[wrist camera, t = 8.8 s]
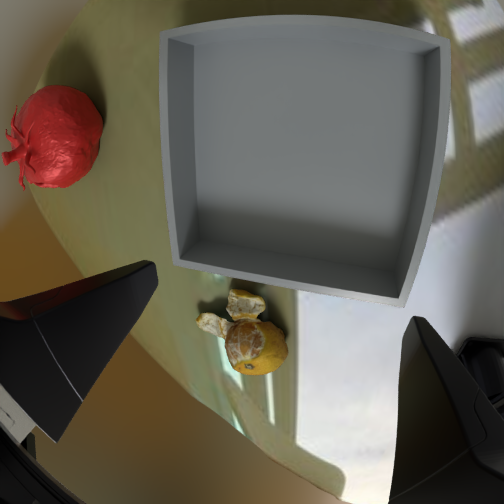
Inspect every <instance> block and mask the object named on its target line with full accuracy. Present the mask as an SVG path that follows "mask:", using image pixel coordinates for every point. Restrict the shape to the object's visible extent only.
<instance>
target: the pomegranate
mask: <svg viewBox="0 0 504 504" xmlns="http://www.w3.org/2000/svg"><path fill="white" fill-rule="evenodd" d="M16 111H17V108H16ZM16 111H15V113H14V115H13V118H12V121H11V126H12V130H11V136H10V135H8V134H7V129H6V137H7V139H8V140H9V141H10V142H11V146H12V151H10V152H3V153H2V158H3V162H4V165H8V164H9V163H10V162H14V161H17V162H18V163H19V165H20V176H19V183H20V185H21V186H22V187H23V188H24V190H25V185H24V184H23V175H25V177H26V179H27V181H28V182H29V183H30V184H32V183H34V184H35V185H37V186H39V187H45V188H46V187H52V188H57V187H60V188H66V187H69V186H70V185H72V184H73V183H75V182H76V181H78V180H79V179H81V178H82V177H83V176H85V175H86V174H87V173H88V172H89V171H90V170H91V168H92V165H93V163H94V161H95V159H96V157H97V155H98V150H99V139H100V137H101V135H102V132H103V121H102V117H101V115H100V114H99V112H98V111H97V109H96V107H95V106H94V104H93V102H92V101H91V100H90V98H89V97H88V96H87V95H86V94H85V93H83V92H81V91H79V90H77V89H75V88H72V87H68V86H62V85H50V86H46V87H43V88H42V89H40V90H38V91H37V92H36V93H34V94H33V95H31V96H30V97H29V99H27V100H26V101H25V103H24V105H23V106H22V108H21V110H20V112H19V114H18V115H17V116H16ZM15 116H16V118H15Z"/></svg>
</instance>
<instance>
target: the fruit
mask: <svg viewBox="0 0 504 504" xmlns="http://www.w3.org/2000/svg"><path fill="white" fill-rule="evenodd" d="M228 300H229V303H228V305H227V307H226V310H227V311H228V312H229V314H230V316H232V318H233V320H234V321H235V322H228V321H227V320H226V319H222V318H220V317H219V316H216V315H215V314H214V313H209V312H207V313H202V314H200V315H199V316H198V318H197V319H196V323H197V324H198V327H200V328H201V329H202V330H204V331H206V332H210V333H212V334H214V335H216V336H218V337H222V338H223V339H225V348H226V352H227V356H228V359H229V362H230V364H231V366H232V367H233V369H234V370H236V371H238V372H240V373H242V374H247V375H264V374H267V373H270V372H273V371H275V370H276V369H278V368H279V367H280V366H281V365H282V363H283V362H284V360H285V359H286V357H287V355H288V348H287V344H286V343H285V340H284V338H285V335H284V333H283V332H282V329H278V328H277V327H276V326H275V325H274V324H272V323H271V322H261V321H260V320H259V319H258V318H257V316H258V314H259V313H261V312H263V311H264V310H265V300H264V299H263V298H262V297H261V296H259V295H253V294H250V293H249V292H247V291H245V290H237V289H231V290H230V294H229V296H228Z"/></svg>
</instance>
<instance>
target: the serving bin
mask: <svg viewBox="0 0 504 504" xmlns="http://www.w3.org/2000/svg"><path fill="white" fill-rule="evenodd" d="M450 93H451V49H450V39H447V38H444V37H441V36H437V35H434V34H431V33H427V32H423V31H419V30H415V29H411V28H407V27H403V26H398V25H393V24H388V23H382V22H376V21H370V20H363V19H355V18H346V17H335V16H319V15H267V16H252V17H240V18H231V19H223V20H216V21H209V22H203V23H198V24H192V25H187V26H182V27H178V28H173V29H169V30H165V31H161V32H160V49H159V103H160V131H161V150H162V165H163V178H164V189H165V200H166V210H167V219H168V227H169V236H170V244H171V251H172V258H173V265H176V266H180V267H185V268H190V269H194V270H199V271H204V272H209V273H214V274H219V275H224V276H229V277H233V278H239V279H244V280H249V281H254V282H259V283H264V284H269V285H275V286H280V287H285V288H291V289H296V290H302V291H307V292H313V293H318V294H324V295H330V296H336V297H341V298H347V299H353V300H359V301H365V302H372V303H378V304H384V305H390V306H397V307H403V308H404V307H405V305H406V302H407V299H408V297H409V294H410V291H411V288H412V286H413V283H414V280H415V277H416V274H417V271H418V268H419V265H420V261H421V258H422V255H423V252H424V248H425V245H426V241H427V238H428V234H429V230H430V226H431V222H432V218H433V214H434V210H435V205H436V201H437V196H438V191H439V186H440V181H441V175H442V170H443V163H444V157H445V150H446V142H447V133H448V123H449V111H450Z"/></svg>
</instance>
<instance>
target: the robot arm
mask: <svg viewBox="0 0 504 504" xmlns="http://www.w3.org/2000/svg"><path fill="white" fill-rule="evenodd" d="M157 286H158V276H157V270H156V265H155V263H154V262H152V261H148V260H142V261H139V262H136V263H133V264H129V265H126V266H123V267H120V268H117V269H113V270H110V271H107V272H104V273H101V274H97V275H94V276H91V277H88V278H85V279H82V280H79V281H76V282H73V283H70V284H66V285H64V286H60V287H57V288H54V289H51V290H48V291H45V292H41V293H38V294H34V295H30V296H27V297H23V298H19V299H15V300H12V301H7V302H0V504H86V503H85V502H84V501H82V500H81V499H80V498H79V497H77V496H76V495H75V494H73V493H72V492H71V491H70V490H68V489H67V488H66V487H65V486H64V485H62V484H61V483H60V482H59V481H58V480H56V479H55V478H54V477H53V476H52V475H51V474H50V473H49V472H48V471H47V470H46V469H45V468H43V467H42V466H41V465H40V464H39V463H38V462H37V461H36V451H35V436H34V434H32V433H31V430H32V429H33V428H34V427H35V425H37V426H38V427H39V428H40V429H41V430H42V431H43V432H44V433H45V434H46V435H47V436H49V437H50V438H51V439H52V440H53V441H54V442H55V443H57V442H58V441H59V440H60V438H61V436H62V435H63V433H64V431H65V430H66V428H67V426H68V425H69V423H70V422H71V420H72V418H73V417H74V415H75V413H76V412H77V410H78V409H79V407H80V405H81V404H82V402H83V400H84V399H85V397H86V396H87V394H88V392H89V391H90V389H91V388H92V386H93V385H94V383H95V382H96V380H97V379H98V377H99V376H100V374H101V373H102V371H103V370H104V368H105V367H106V365H107V363H108V362H109V361H110V359H111V358H112V356H113V355H114V353H115V352H116V350H117V349H118V347H119V346H120V345H121V343H122V342H123V340H124V339H125V337H126V336H127V335H128V333H129V332H130V330H131V329H132V327H133V326H134V325H135V323H136V322H137V320H138V319H139V317H140V316H141V314H142V312H143V311H144V309H145V307H146V305H147V304H148V302H149V300H150V298H151V297H152V295H153V293H154V291H155V290H156V288H157ZM388 504H504V340H499V339H487V338H476V337H469V338H467V339H466V340H465V342H464V344H463V345H462V347H461V349H460V350H459V352H458V353H457V355H455V354H454V353H453V351H452V350H451V349H450V348H449V346H448V345H447V344H446V343H445V342H444V340H443V339H442V338H441V337H440V335H439V334H438V333H437V332H436V331H435V329H434V328H433V327H432V326H431V325H430V323H429V322H428V321H427V320H426V319H425V318H424V317H419V316H413V317H412V318H411V320H410V322H409V324H408V326H407V329H406V331H405V333H404V335H403V339H402V349H401V362H400V372H399V385H398V422H397V438H396V450H395V460H394V469H393V476H392V483H391V490H390V496H389V502H388Z"/></svg>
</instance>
